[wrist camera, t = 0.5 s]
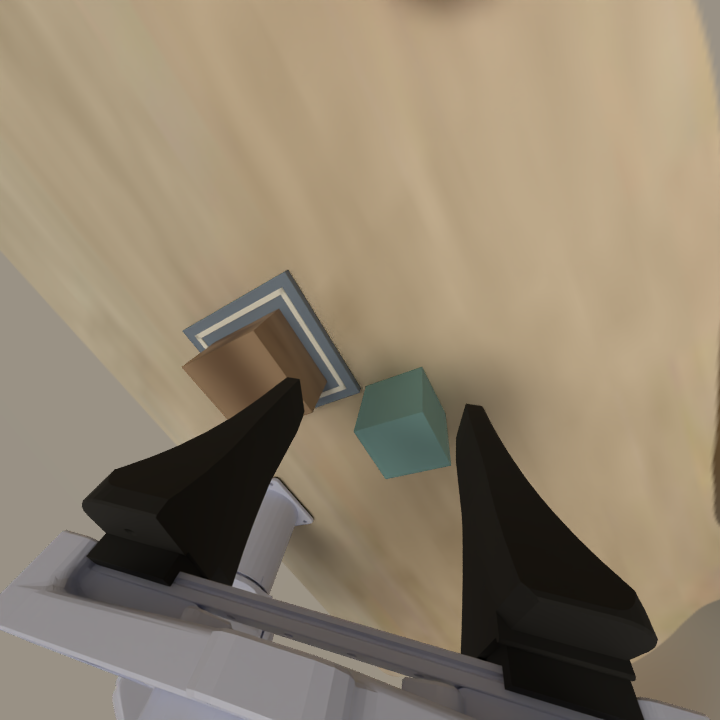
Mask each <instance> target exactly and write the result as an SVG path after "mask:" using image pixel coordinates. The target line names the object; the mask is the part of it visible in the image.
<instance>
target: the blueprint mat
mask: <svg viewBox="0 0 720 720" xmlns="http://www.w3.org/2000/svg"><path fill="white" fill-rule="evenodd" d="M277 309H280V311H281V312H282V314H283V315H284V317H285V318H286V320H287V321H288V323H289V324H290V326H291V327H292V329H293V330H294V332H295V333H296V335H297V336H298V338H299V339H300V341H301V342H302V344H303V345H304V347H305V348H306V350H307V351H308V353H309V354H310V356H311V357H312V359H313V360H314V362H315V364H316V365H317V367H318V368H319V370H320V371H321V373H322V374H323V376H324V377H325V379H326V380H327V383H326V385H325V387H324V389H323V391H322V394H321V396H320V398H319V400H318V402H317V404H316V406H315V408H316V407H319V406H322V405H325V404H327V403H330V402H333V401H336V400H339V399H342V398H345V397H348V396H351V395H354V394H357V393H360V389H361V388H360V386H359V385H358V383H357V381H356V380H355V378H354V377H353V375H352V373H351V372H350V370H349V368H348V367H347V365H346V364H345V362H344V360H343V359H342V357H341V355H340V354H339V352H338V350H337V349H336V347H335V346H334V344H333V342H332V341H331V339H330V337H329V336H328V334H327V333H326V331H325V329H324V328H323V326H322V324H321V323H320V321H319V320H318V318H317V316H316V315H315V313H314V311H313V310H312V308H311V307H310V305H309V303H308V302H307V300H306V298H305V297H304V295H303V294H302V292H301V290H300V289H299V287H298V285H297V284H296V282H295V280H294V279H293V277H292V276H291V274H290V272H289V271H288V270H286V271H285V272H283V273H281V274H280V275H278V276H276V277H274V278H273V279H271V280H269V281H267V282H266V283H264V284H262V285H261V286H259V287H257V288H255V289H254V290H252V291H250V292H248V293H247V294H245V295H243V296H242V297H240V298H238V299H236V300H235V301H233V302H231V303H230V304H228V305H226V306H224V307H223V308H221V309H219V310H217V311H216V312H214V313H212V314H211V315H209V316H207V317H205V318H204V319H202V320H200V321H198V322H197V323H195V324H193V325H192V326H190V327H188V328H186V329H185V330H183V332H184V334H185V335H186V336H187V337H188V338H189V340H190V341H191V342H192V343H193V344H194V346H195V347H196V348H197V349H198V350H199V352H200V353H201V352H202V351H204V350H205V349H206V348H208V347H209V346H210V345H211V344H213V343H214V342H216V341H218V340H220V339H222V338H223V337H225V336H227V335H229V334H231V333H233V332H235V331H237V330H239V329H241V328H243V327H244V326H246V325H248V324H250V323H252V322H254V321H256V320H258V319H260V318H262V317H263V316H265V315H267V314H269V313H271V312H273V311H275V310H277Z"/></svg>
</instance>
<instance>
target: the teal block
mask: <svg viewBox="0 0 720 720" xmlns="http://www.w3.org/2000/svg"><path fill="white" fill-rule="evenodd" d="M354 433H355V434H356V436H357V437H358V439H359V440H360V442H361V443H362V445H363V446H364V448H365V449H366V451H367V452H368V454H369V455H370V457H371V458H372V460H373V461H374V463H375V464H376V465H377V467H378V468H379V470H380V471H381V473H382V474H383V476H384V477H385V479H389V478H393V477H398V476H403V475H408V474H413V473H418V472H422V471H427V470H432V469H437V468H442V467H446V466H451V460H450V451H449V442H448V433H447V424H446V415H445V412H444V410H443V408H442V406H441V404H440V402H439V400H438V398H437V396H436V394H435V392H434V390H433V388H432V386H431V384H430V382H429V380H428V378H427V376H426V374H425V372H424V370H423V368H422V367H420V368H417V369H414V370H411V371H409V372H406V373H403V374H400V375H397V376H394V377H391V378H388V379H386V380H383V381H380V382H377V383H374V384H371V385H368V386H366V388H365V392H364V396H363V399H362V403H361V407H360V410H359V414H358V418H357V421H356V425H355V429H354Z"/></svg>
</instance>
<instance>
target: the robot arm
mask: <svg viewBox="0 0 720 720" xmlns="http://www.w3.org/2000/svg"><path fill="white" fill-rule="evenodd" d="M304 412H305V410H304V403H303V397H302V390H301V383H300V379H297V378H290V377H287V378H285V379H284V380H283V381H281V382H280V383H279V384H277V385H276V386H275V387H273V388H272V389H271V390H269V391H268V392H267V393H265V394H264V395H263V396H261V397H260V398H259V399H257V400H256V401H255V402H253V403H252V404H251V405H249V406H248V407H246V408H245V409H243V410H242V411H240V412H239V413H237V414H236V415H234V416H233V417H231V418H230V419H228V420H226V421H225V422H223V423H221V424H220V425H218V426H216V427H214V428H213V429H211V430H209V431H207V432H205V433H203V434H201V435H199V436H197V437H195V438H193V439H191V440H189V441H187V442H185V443H183V444H181V445H179V446H176V447H174V448H172V449H170V450H167V451H165V452H162V453H160V454H157V455H155V456H152V457H150V458H147V459H144V460H141V461H138V462H136V463H133V464H130V465H127V466H124V467H121V468H118V469H115V470H114V471H113V472H112V473H111V474H110V475H109V476H108V477H107V478H106V479H105V480H104V481H102V482H101V484H99V486H97V488H95V489H94V490H93V491H92V492H91V493H90V494H89V495H88V496H87V497H86V498H85V499H84V500H83V503H82V507H83V510H84V511H85V513H86V514H87V515H88V516H89V517H90V518H91V519H92V520H93V521H94V522H95V523H96V524H97V525H98V526H99V527H100V528H102V530H103V531H105V532H106V534H105V535H104V536H103V537H102V539H101V540H100V541H97V540H95V539H93V538H91V537H88V536H85V535H82V534H78V533H75V532H71V531H68V530H65V531H62V532H61V533H60V534H59V535H58V536H57V537H56V538H55V539H54V540H53V541H52V542H51V543H50V544H49V545H48V546H47V547H46V548H45V549H44V550H43V551H42V552H41V553H40V554H39V555H38V556H37V557H36V558H35V559H34V560H33V561H32V562H31V563H30V564H29V565H28V566H27V567H26V568H25V569H24V571H22V572H21V573H20V574H19V576H17V578H15V580H14V581H12V582H11V583H10V585H9V586H7V587H6V588H5V590H3V592H1V593H0V630H2V631H4V632H7V633H10V634H12V635H14V636H17V637H19V638H21V639H24V640H26V641H29V642H31V643H34V644H37V645H39V646H42V647H44V648H47V649H50V650H52V651H55V652H57V653H60V654H63V655H65V656H68V657H70V658H73V659H76V660H78V661H81V662H83V663H86V664H88V665H91V666H94V667H96V668H99V669H101V670H104V671H107V672H109V673H112V674H114V675H117V676H118V678H117V680H116V689H115V690H114V692H113V697H112V698H113V706H114V711H115V716H116V720H710V719H709V718H708V717H707V716H706V715H705V714H703V713H700V712H697V711H694V710H690V709H686V708H683V707H680V706H676V705H673V704H669V703H666V702H662V701H658V700H654V699H650V698H643V697H636V695H635V692H634V689H633V686H632V684H631V681H635V679H636V676H635V673H634V671H633V668H632V665H631V662H630V659H633V658H635V657H637V656H640V655H642V654H644V653H647V652H649V651H650V650H652V649H653V648H655V646H656V644H657V640H658V639H657V636H656V634H655V632H654V629H653V627H652V625H651V623H650V620H649V618H648V616H647V613H646V611H645V609H644V607H643V605H642V604H641V602H640V600H639V598H638V596H637V594H636V592H635V591H634V590H633V589H632V588H631V587H630V586H629V585H628V584H627V583H625V582H624V581H623V580H622V579H621V578H620V577H619V576H618V575H617V574H615V573H614V572H613V571H612V570H611V569H610V568H609V567H608V566H606V565H605V564H604V563H603V562H602V561H601V560H600V559H599V558H598V557H597V556H596V555H595V554H593V553H592V552H591V551H590V550H589V549H588V548H587V547H586V546H585V545H584V544H583V543H582V542H581V541H580V540H579V539H578V538H577V537H576V536H575V535H574V534H573V533H572V532H571V530H570V529H569V528H568V527H567V526H566V525H565V524H564V523H563V522H562V521H561V520H560V519H559V518H558V516H557V515H556V514H555V513H554V512H553V511H552V510H551V509H550V508H549V506H548V505H547V504H546V503H545V502H544V501H543V499H542V498H541V497H540V496H539V494H538V493H537V492H536V491H535V489H534V488H533V487H532V486H531V484H530V483H529V482H528V480H527V479H526V478H525V476H524V475H523V474H522V472H521V471H520V469H519V468H518V466H517V465H516V463H515V462H514V460H513V459H512V457H511V456H510V454H509V453H508V451H507V450H506V448H505V446H504V445H503V443H502V441H501V440H500V438H499V436H498V435H497V433H496V431H495V429H494V428H493V426H492V424H491V422H490V420H489V418H488V416H487V414H486V412H485V410H484V408H483V407H482V406H478V405H471V404H466V405H465V409H464V412H463V416H462V419H461V423H460V426H459V430H458V433H457V437H456V465H457V475H458V484H459V493H460V503H461V512H462V530H463V592H462V635H461V654H460V653H456V652H453V651H449V650H446V649H443V648H439V647H436V646H432V645H429V644H426V643H422V642H419V641H415V640H412V639H409V638H405V637H402V636H398V635H395V634H392V633H388V632H385V631H381V630H378V629H374V628H371V627H368V626H364V625H361V624H357V623H354V622H351V621H347V620H344V619H340V618H337V617H334V616H330V615H327V614H323V613H320V612H317V611H313V610H309V609H306V608H303V607H300V606H296V605H293V604H289V603H286V602H282V601H279V600H276V599H272V596H270V595H269V594H270V591H271V588H272V586H273V583H274V580H275V577H276V575H277V572H278V569H279V566H280V564H281V561H282V559H283V556H284V553H285V551H286V548H287V545H288V542H289V540H290V537H291V534H292V532H293V529H294V526H298V525H304V524H310V523H312V522H313V518H312V517H311V515H310V514H309V513H308V512H307V511H306V510H305V509H304V507H303V506H302V505H301V504H300V503H299V502H298V501H297V499H296V498H295V497H294V496H293V495H292V494H291V493H290V492H289V490H288V489H287V488H286V487H285V486H284V485H283V484H282V482H281V481H280V480H279V479H277V478H273V476H274V474H275V472H276V470H277V468H278V466H279V465H280V463H281V461H282V459H283V457H284V455H285V453H286V452H287V450H288V448H289V446H290V444H291V442H292V440H293V438H294V437H295V435H296V433H297V431H298V428H299V426H300V423H301V420H302V418H303V415H304ZM274 634H276V635H280V636H283V637H286V638H289V639H292V640H295V641H299V642H302V643H305V644H308V645H311V646H315V647H318V648H321V649H324V650H327V651H330V652H333V653H337V654H340V655H343V656H346V657H349V658H353V659H356V660H359V661H362V662H365V663H368V664H371V665H375V666H378V667H381V668H384V669H387V670H390V671H394V672H397V673H400V674H403V675H406V676H409V677H405V678H404V679H403V680H402V689H400V688H397V687H395V686H392V685H390V684H387V683H385V682H382V681H380V680H377V679H375V678H372V677H370V676H367V675H364V674H362V673H360V672H357V671H354V670H352V669H349V668H347V667H344V666H341V665H339V664H336V663H334V662H331V661H328V660H326V659H323V658H321V657H318V656H315V655H312V654H309V653H306V652H303V651H300V650H296V649H293V648H290V647H287V646H284V645H281V644H278V643H275V642H272V640H273V636H274ZM410 677H413V678H410Z"/></svg>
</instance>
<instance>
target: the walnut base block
mask: <svg viewBox="0 0 720 720" xmlns="http://www.w3.org/2000/svg"><path fill="white" fill-rule="evenodd" d="M182 368H183V369H184V370H185V372H186V373H187V374H188V375H189V376H190V377H191V378H192V380H193V381H194V382H195V383H196V384H197V385H198V386H199V388H200V389H201V390H202V391H203V392H204V393H205V394H206V396H207V397H208V398H209V399H210V400H211V401H212V402H213V404H214V405H215V406H216V407H217V408H218V409H219V410H220V412H221V413H222V414H223V415H224V416H225V417H226V418H227V419H230V418H231V417H233V416H234V415H236V414H237V413H239V412H240V411H242V410H243V409H245V408H246V407H248V406H249V405H251V404H252V403H253V402H255V401H256V400H257V399H259V398H260V397H261V396H263V395H264V394H265V393H267V392H268V391H269V390H271V389H272V388H273V387H275V386H276V385H277V384H279V383H280V382H281V381H283V380H284V379H285V378H287V377H290V378H297V379H300V383H301V390H302V397H303V403H304V410H305V412H304V415H307V414H310V413H312V412H313V410H314V408H315V406H316V404H317V402H318V400H319V398H320V396H321V394H322V391H323V389H324V387H325V385H326V383H327V380H326V379H325V377H324V376H323V374H322V373H321V371H320V370H319V368H318V367H317V365H316V364H315V362H314V360H313V359H312V357H311V356H310V354H309V353H308V351H307V350H306V348H305V347H304V345H303V344H302V342H301V341H300V339H299V338H298V336H297V335H296V333H295V332H294V330H293V329H292V327H291V326H290V324H289V323H288V321H287V320H286V318H285V317H284V315H283V314H282V312H281V311H280V309H277V310H275V311H273V312H271V313H269V314H267V315H265V316H263V317H262V318H260V319H258V320H256V321H254V322H252V323H250V324H248V325H246V326H244V327H243V328H241V329H239V330H237V331H235V332H233V333H231V334H229V335H227V336H225V337H223V338H222V339H220V340H218V341H216V342H214V343H213V344H211V345H210V346H209V347H208V348H206V349H205V350H204V351H202V352H201V353H200V354H198V355H197V356H196V357H194V358H193V359H192V360H190V361H189V362H188V363H186V364H185V365H184V366H182ZM304 415H303V416H304Z"/></svg>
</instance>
